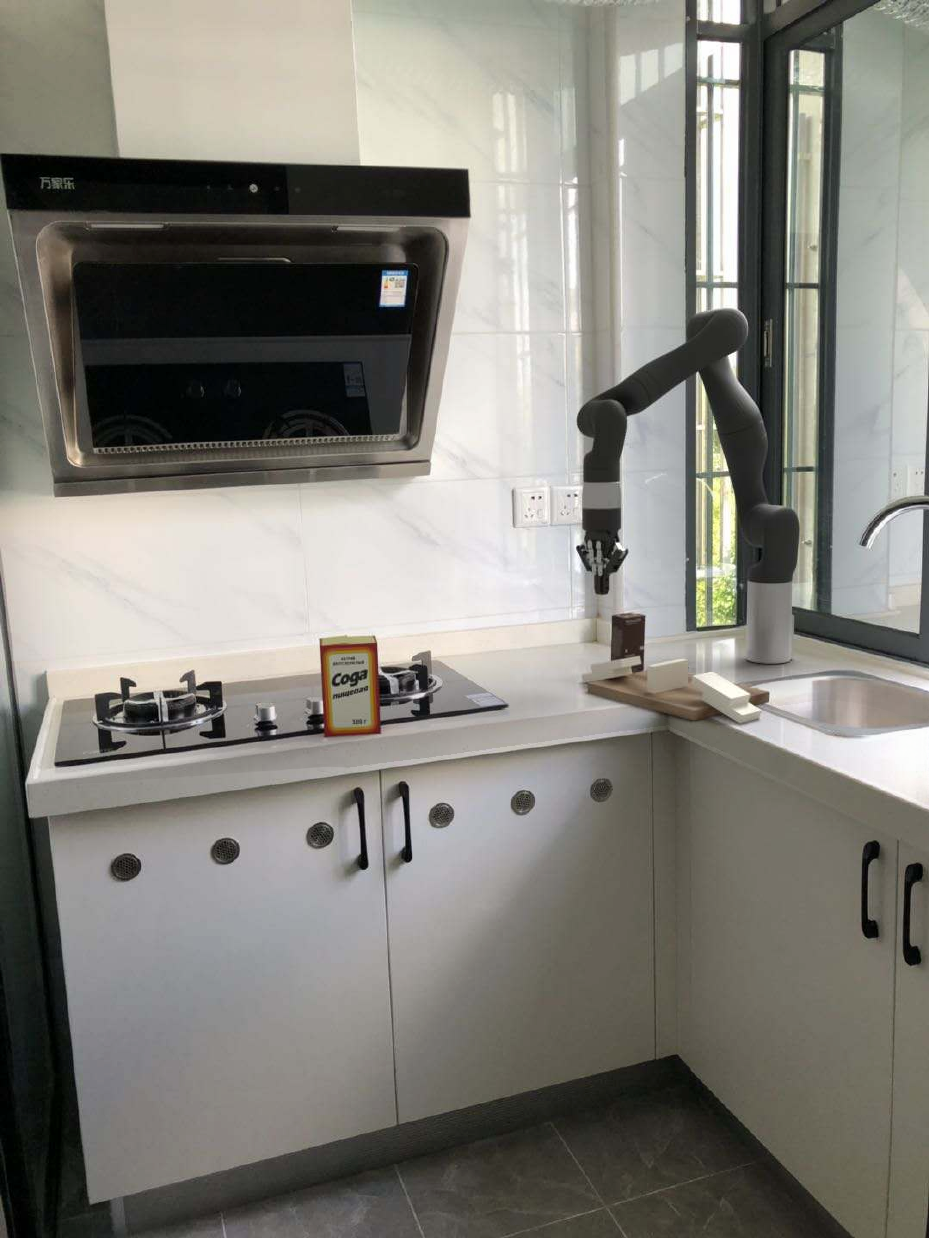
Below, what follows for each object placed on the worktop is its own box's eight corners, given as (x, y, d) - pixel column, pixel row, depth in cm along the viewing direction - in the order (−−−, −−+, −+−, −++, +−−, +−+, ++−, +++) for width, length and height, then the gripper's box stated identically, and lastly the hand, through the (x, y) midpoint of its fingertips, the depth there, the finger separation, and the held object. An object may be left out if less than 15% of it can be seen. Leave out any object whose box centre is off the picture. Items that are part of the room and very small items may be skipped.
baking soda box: (378, 723, 178) (374, 633, 175) (381, 733, 171) (377, 640, 169) (324, 726, 176) (319, 636, 174) (324, 737, 170) (319, 643, 167)
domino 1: (622, 667, 193) (591, 672, 201) (641, 663, 196) (610, 669, 204) (620, 659, 194) (590, 665, 201) (639, 655, 196) (608, 661, 204)
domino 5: (703, 691, 177) (742, 715, 171) (722, 686, 180) (761, 710, 174) (701, 699, 178) (740, 723, 171) (720, 694, 181) (759, 718, 174)
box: (624, 675, 209) (624, 617, 206) (609, 671, 212) (609, 614, 210) (646, 671, 212) (646, 614, 210) (631, 667, 215) (631, 611, 213)
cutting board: (660, 676, 207) (660, 667, 207) (769, 701, 185) (769, 691, 185) (587, 691, 196) (587, 682, 195) (693, 720, 174) (693, 710, 174)
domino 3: (681, 684, 192) (647, 692, 187) (681, 658, 191) (647, 665, 186) (687, 685, 191) (653, 693, 186) (688, 659, 190) (653, 666, 185)
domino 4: (692, 675, 179) (731, 698, 172) (712, 671, 182) (750, 694, 175) (690, 683, 180) (728, 707, 173) (709, 679, 182) (748, 702, 176)
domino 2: (613, 677, 196) (583, 682, 203) (632, 673, 199) (602, 678, 206) (611, 669, 196) (582, 674, 203) (630, 665, 199) (600, 670, 206)
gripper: (640, 505, 193) (639, 595, 196) (592, 503, 204) (593, 588, 207) (611, 508, 189) (610, 600, 192) (564, 505, 200) (565, 592, 203)
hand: (601, 594), depth 199 cm, fingers closed
